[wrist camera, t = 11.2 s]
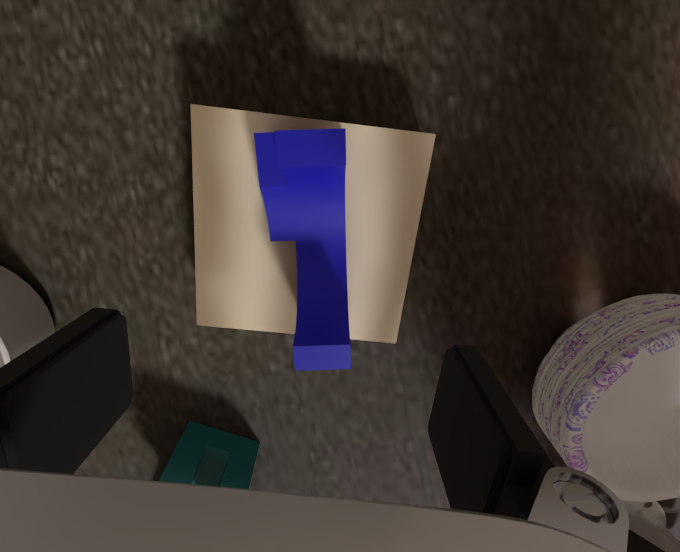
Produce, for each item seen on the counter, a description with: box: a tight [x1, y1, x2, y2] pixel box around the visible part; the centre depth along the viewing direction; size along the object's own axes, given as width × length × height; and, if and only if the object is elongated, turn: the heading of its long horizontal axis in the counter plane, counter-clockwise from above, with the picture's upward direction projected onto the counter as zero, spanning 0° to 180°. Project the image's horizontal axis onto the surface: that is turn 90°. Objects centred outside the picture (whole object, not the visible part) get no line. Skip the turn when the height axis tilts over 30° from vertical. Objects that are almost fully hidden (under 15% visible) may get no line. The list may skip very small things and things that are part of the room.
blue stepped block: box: [254, 128, 351, 371], centre depth 20 cm, size 12×4×6 cm, turn 2°
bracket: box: [159, 421, 260, 489], centre depth 33 cm, size 18×7×8 cm, turn 157°
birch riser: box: [191, 104, 436, 343], centre depth 25 cm, size 14×14×4 cm
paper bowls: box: [532, 294, 680, 502], centre depth 28 cm, size 15×15×8 cm
